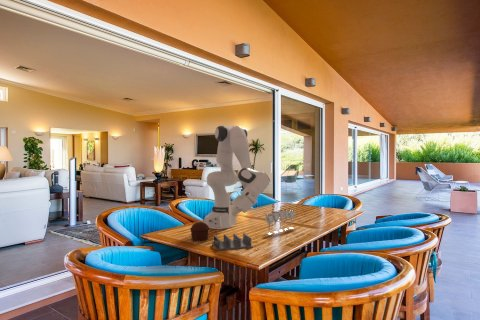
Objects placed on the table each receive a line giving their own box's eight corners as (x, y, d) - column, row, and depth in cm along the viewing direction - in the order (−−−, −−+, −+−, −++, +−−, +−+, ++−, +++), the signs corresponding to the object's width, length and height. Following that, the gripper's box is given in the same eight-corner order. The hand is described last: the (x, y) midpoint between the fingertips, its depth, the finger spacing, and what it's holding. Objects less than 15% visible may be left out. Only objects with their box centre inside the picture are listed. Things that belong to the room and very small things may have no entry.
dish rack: (218, 250, 162) (218, 241, 162) (212, 243, 176) (212, 234, 176) (252, 247, 168) (252, 238, 168) (244, 240, 181) (244, 232, 181)
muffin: (191, 237, 190) (191, 220, 190) (209, 236, 191) (209, 220, 191) (189, 242, 178) (189, 225, 178) (208, 242, 179) (208, 224, 179)
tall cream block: (231, 225, 169) (231, 206, 169) (228, 223, 174) (228, 205, 174) (236, 224, 170) (236, 206, 170) (233, 222, 175) (233, 205, 175)
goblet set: (270, 234, 196) (270, 213, 196) (263, 233, 200) (263, 212, 200) (296, 228, 215) (297, 208, 215) (290, 226, 219) (290, 207, 219)
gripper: (238, 190, 184) (222, 207, 181) (250, 194, 164) (232, 213, 161) (246, 197, 185) (230, 214, 182) (258, 202, 166) (240, 221, 163)
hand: (231, 214), depth 172 cm, fingers closed on tall cream block, 5 cm apart
